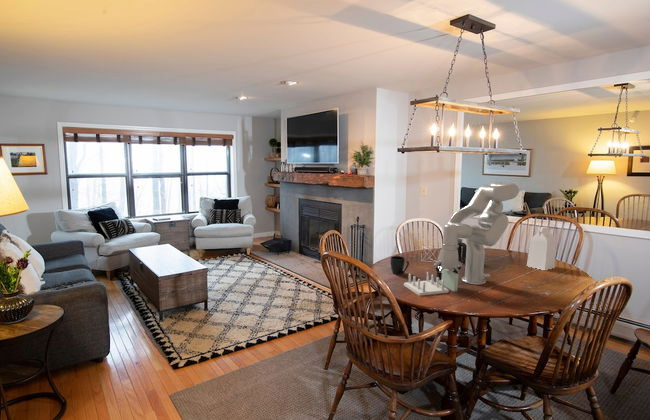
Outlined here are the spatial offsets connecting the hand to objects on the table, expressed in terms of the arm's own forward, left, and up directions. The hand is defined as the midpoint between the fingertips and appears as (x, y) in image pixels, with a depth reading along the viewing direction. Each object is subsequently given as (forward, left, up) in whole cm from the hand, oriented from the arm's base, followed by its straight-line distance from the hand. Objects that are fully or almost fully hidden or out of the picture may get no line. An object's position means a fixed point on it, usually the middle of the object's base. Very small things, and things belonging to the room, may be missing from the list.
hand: (446, 278), depth 203 cm
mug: (+14, -27, -5) cm, 31 cm away
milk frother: (-41, -44, -5) cm, 60 cm away
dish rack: (+13, 0, -5) cm, 13 cm away
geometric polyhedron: (-20, -49, -5) cm, 53 cm away
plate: (-1, 0, -5) cm, 5 cm away
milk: (-81, -17, -5) cm, 83 cm away
